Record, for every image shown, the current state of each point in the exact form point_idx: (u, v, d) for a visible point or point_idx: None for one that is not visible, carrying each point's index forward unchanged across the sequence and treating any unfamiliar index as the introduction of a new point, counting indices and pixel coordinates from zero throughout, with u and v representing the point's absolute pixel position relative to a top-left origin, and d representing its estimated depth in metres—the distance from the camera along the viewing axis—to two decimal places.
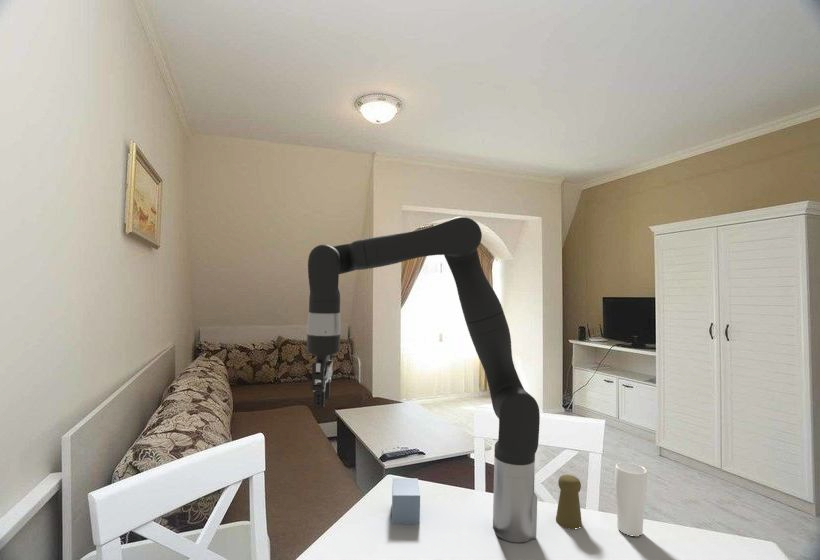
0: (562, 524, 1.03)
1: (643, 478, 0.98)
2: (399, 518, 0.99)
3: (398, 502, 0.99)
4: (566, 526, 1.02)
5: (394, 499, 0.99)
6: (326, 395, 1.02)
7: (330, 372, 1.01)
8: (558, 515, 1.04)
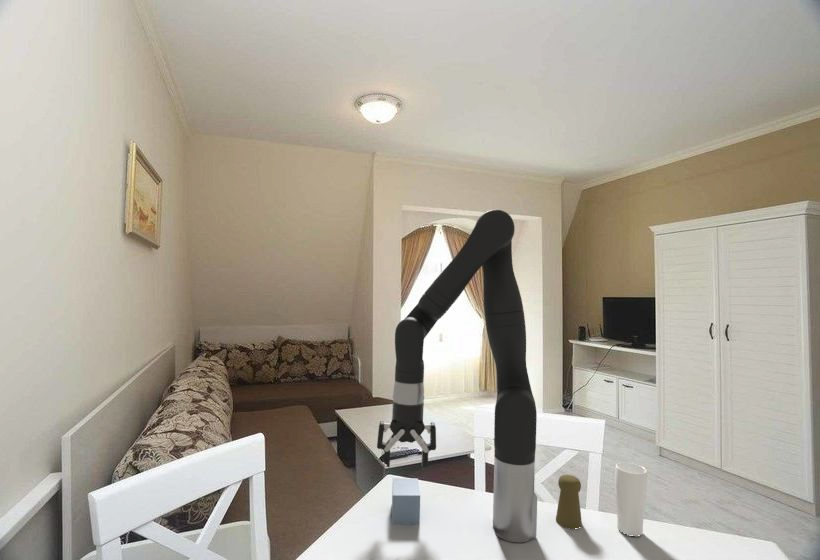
0: (562, 524, 1.03)
1: (643, 478, 0.98)
2: (399, 518, 0.99)
3: (398, 502, 0.99)
4: (566, 526, 1.02)
5: (394, 499, 0.99)
6: None
7: None
8: (558, 515, 1.04)
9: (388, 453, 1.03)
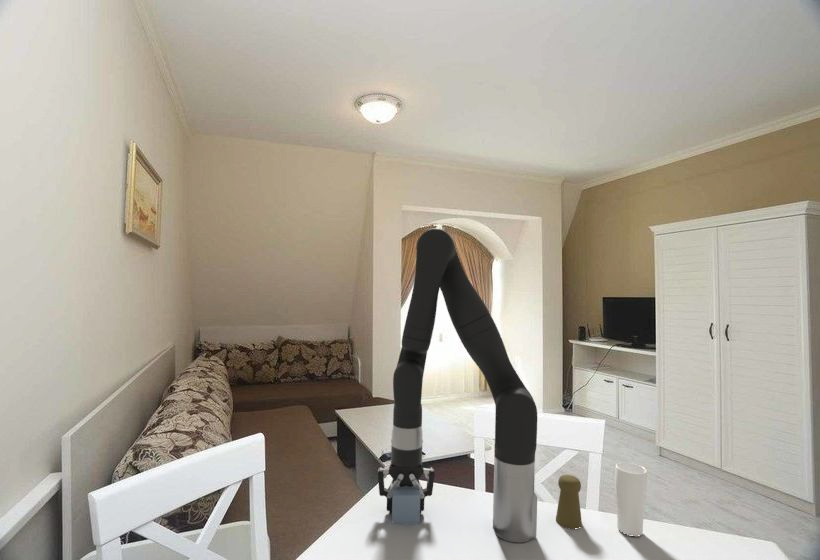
0: (562, 524, 1.03)
1: (643, 478, 0.98)
2: (399, 518, 0.99)
3: (398, 502, 0.99)
4: (566, 526, 1.02)
5: (394, 499, 0.99)
6: None
7: None
8: (558, 515, 1.04)
9: (391, 500, 1.03)
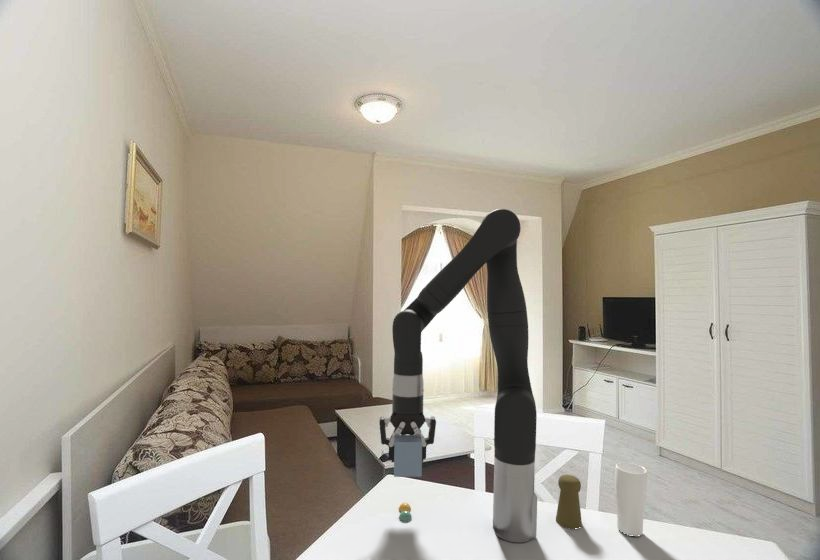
0: (562, 524, 1.03)
1: (643, 478, 0.98)
2: (401, 465, 0.99)
3: (400, 449, 1.00)
4: (566, 526, 1.02)
5: (396, 446, 1.00)
6: None
7: None
8: (558, 515, 1.04)
9: (392, 448, 1.03)
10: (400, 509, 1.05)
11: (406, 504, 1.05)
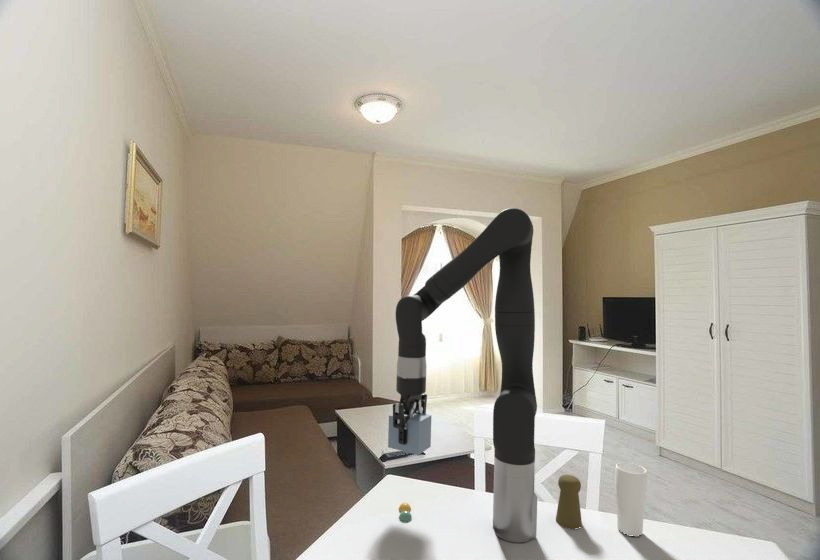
0: (562, 524, 1.03)
1: (643, 478, 0.98)
2: (422, 441, 1.05)
3: (422, 427, 1.05)
4: (566, 526, 1.02)
5: (420, 425, 1.04)
6: None
7: None
8: (558, 515, 1.04)
9: (407, 430, 1.05)
10: (400, 509, 1.05)
11: (406, 504, 1.05)
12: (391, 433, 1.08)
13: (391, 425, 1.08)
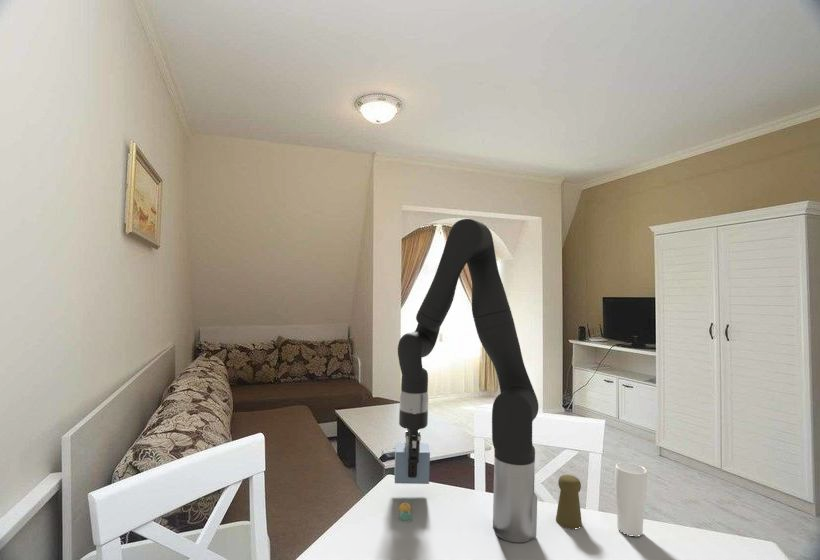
0: (562, 524, 1.03)
1: (643, 478, 0.98)
2: None
3: None
4: (566, 526, 1.02)
5: (429, 455, 1.11)
6: None
7: None
8: (558, 515, 1.04)
9: None
10: (400, 509, 1.05)
11: (406, 504, 1.05)
12: (398, 469, 1.10)
13: (398, 461, 1.10)
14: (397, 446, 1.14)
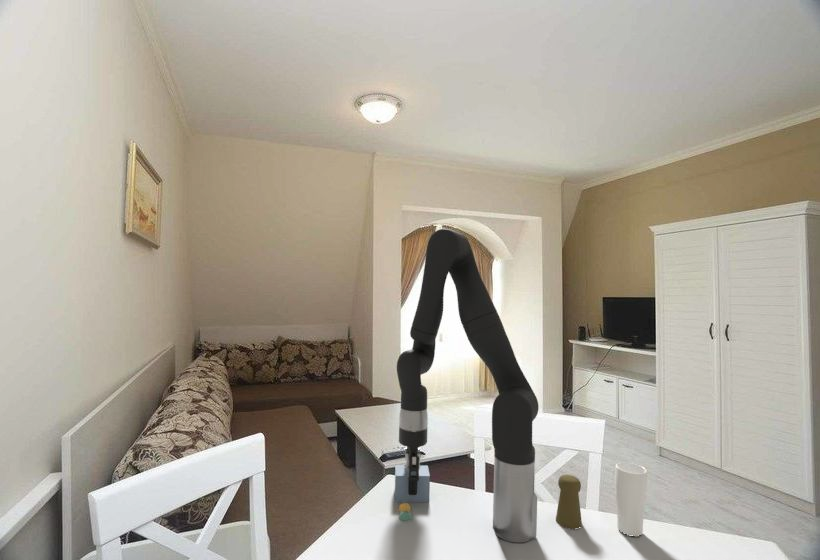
0: (562, 524, 1.03)
1: (643, 478, 0.98)
2: None
3: None
4: (566, 526, 1.02)
5: (429, 478, 1.10)
6: None
7: None
8: (558, 515, 1.04)
9: None
10: (400, 509, 1.05)
11: (406, 504, 1.05)
12: (398, 492, 1.10)
13: (398, 485, 1.10)
14: (397, 469, 1.13)
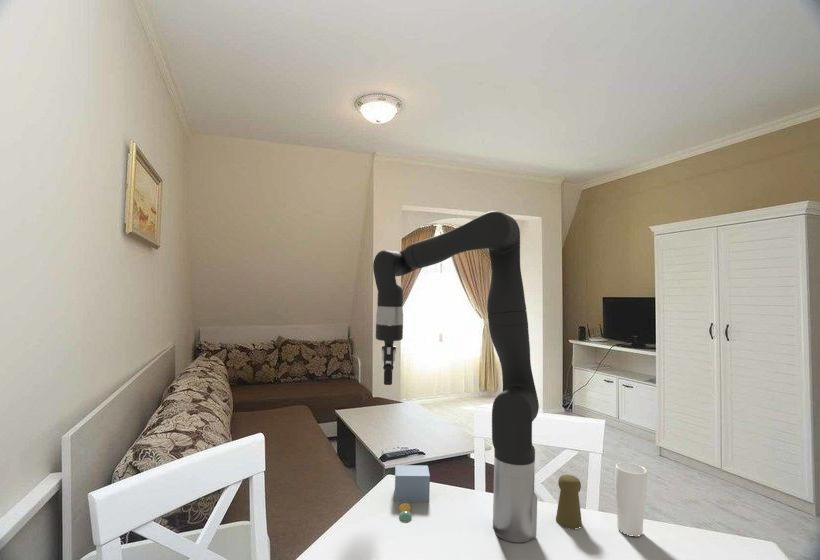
0: (562, 524, 1.03)
1: (643, 478, 0.98)
2: None
3: None
4: (566, 526, 1.02)
5: (429, 478, 1.10)
6: None
7: None
8: (558, 515, 1.04)
9: None
10: (400, 509, 1.05)
11: (406, 504, 1.05)
12: (398, 492, 1.10)
13: (398, 485, 1.10)
14: (397, 469, 1.13)
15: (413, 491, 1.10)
